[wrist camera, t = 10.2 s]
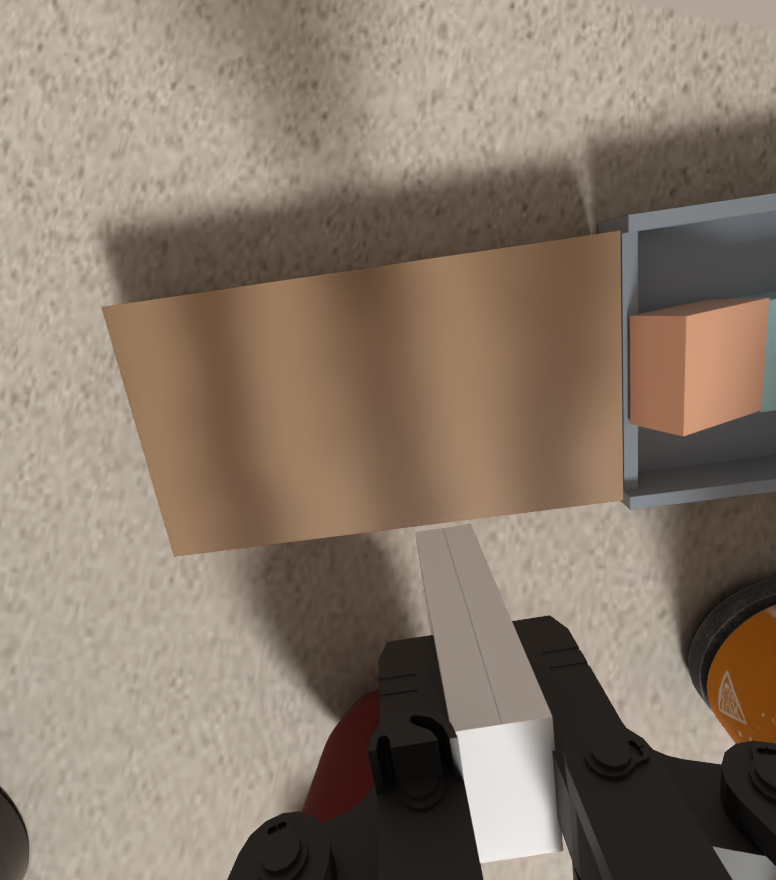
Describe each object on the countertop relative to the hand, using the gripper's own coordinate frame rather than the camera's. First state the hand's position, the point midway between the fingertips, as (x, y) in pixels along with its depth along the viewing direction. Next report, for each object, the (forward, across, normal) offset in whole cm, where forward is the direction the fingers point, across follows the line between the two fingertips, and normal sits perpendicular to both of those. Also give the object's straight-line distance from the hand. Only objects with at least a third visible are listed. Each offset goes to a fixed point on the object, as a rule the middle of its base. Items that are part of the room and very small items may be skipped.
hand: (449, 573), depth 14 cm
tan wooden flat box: (+12, -1, +3) cm, 12 cm away
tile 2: (+9, +11, +3) cm, 15 cm away
